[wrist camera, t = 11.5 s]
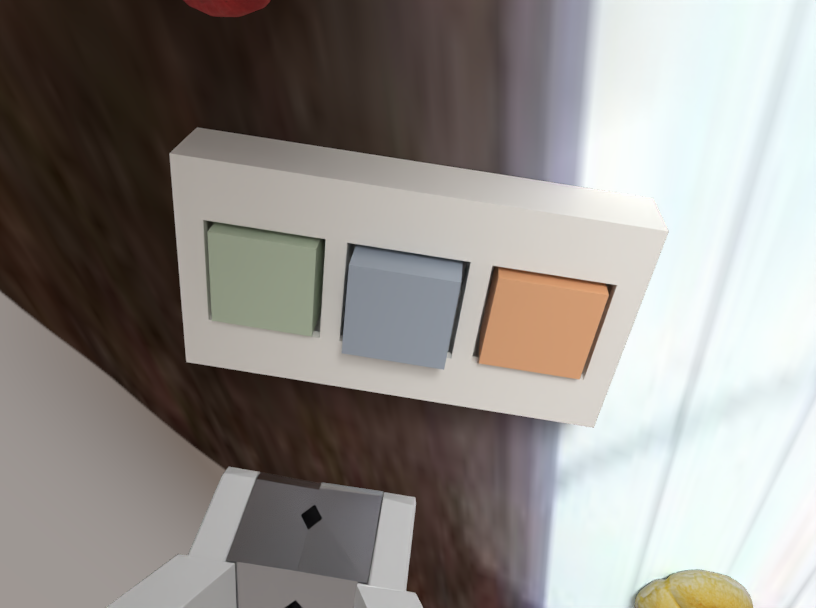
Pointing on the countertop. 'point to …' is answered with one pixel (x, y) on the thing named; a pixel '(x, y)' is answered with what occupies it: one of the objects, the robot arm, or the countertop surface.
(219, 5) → the onion
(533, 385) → the keypad
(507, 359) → the key terracotta
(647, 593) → the bread roll
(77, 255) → the countertop surface
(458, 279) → the key slate
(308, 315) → the key sage
